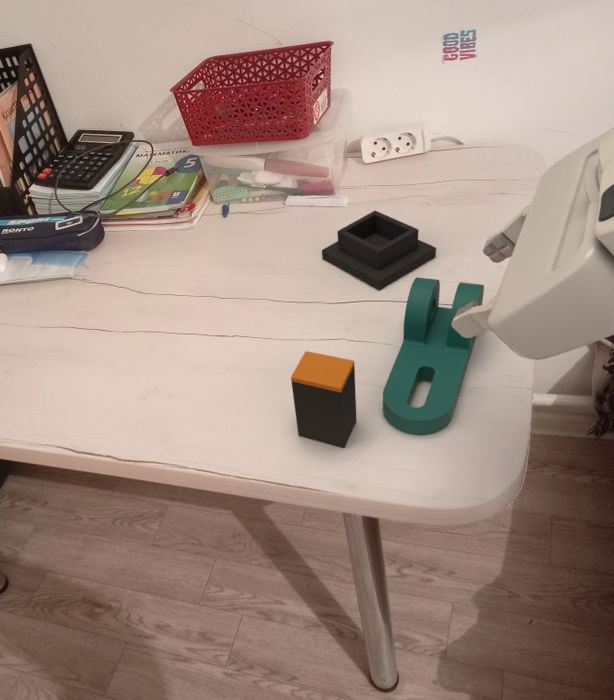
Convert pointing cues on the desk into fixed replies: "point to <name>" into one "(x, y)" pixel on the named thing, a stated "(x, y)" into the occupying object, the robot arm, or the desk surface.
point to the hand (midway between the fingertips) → (475, 287)
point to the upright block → (324, 398)
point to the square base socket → (378, 250)
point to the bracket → (429, 359)
